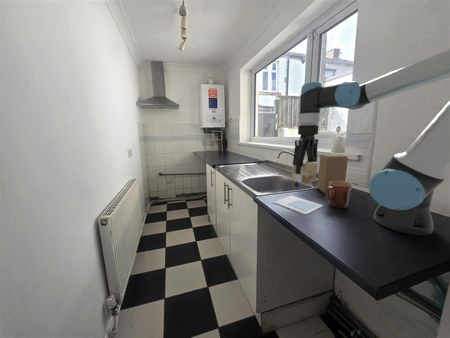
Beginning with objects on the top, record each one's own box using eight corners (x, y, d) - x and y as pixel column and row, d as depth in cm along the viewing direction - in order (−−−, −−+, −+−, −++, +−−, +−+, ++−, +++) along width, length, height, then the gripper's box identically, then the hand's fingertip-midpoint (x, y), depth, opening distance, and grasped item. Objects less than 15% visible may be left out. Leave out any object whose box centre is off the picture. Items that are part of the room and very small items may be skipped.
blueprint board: (323, 206, 81) (323, 205, 81) (305, 215, 73) (305, 214, 73) (291, 196, 93) (291, 195, 93) (273, 202, 85) (273, 201, 85)
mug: (335, 200, 87) (338, 179, 85) (354, 208, 79) (357, 185, 77) (316, 204, 83) (318, 182, 81) (334, 212, 75) (337, 188, 73)
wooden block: (334, 188, 105) (339, 153, 101) (344, 194, 95) (349, 156, 91) (316, 188, 106) (319, 153, 102) (323, 194, 96) (327, 155, 92)
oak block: (315, 180, 78) (317, 162, 77) (306, 183, 74) (308, 164, 73) (300, 177, 84) (302, 160, 82) (291, 180, 80) (292, 161, 78)
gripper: (312, 125, 83) (308, 174, 88) (285, 124, 71) (281, 181, 76) (330, 124, 77) (324, 177, 82) (303, 124, 66) (298, 186, 70)
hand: (303, 179), depth 79 cm, fingers closed on oak block, 7 cm apart
